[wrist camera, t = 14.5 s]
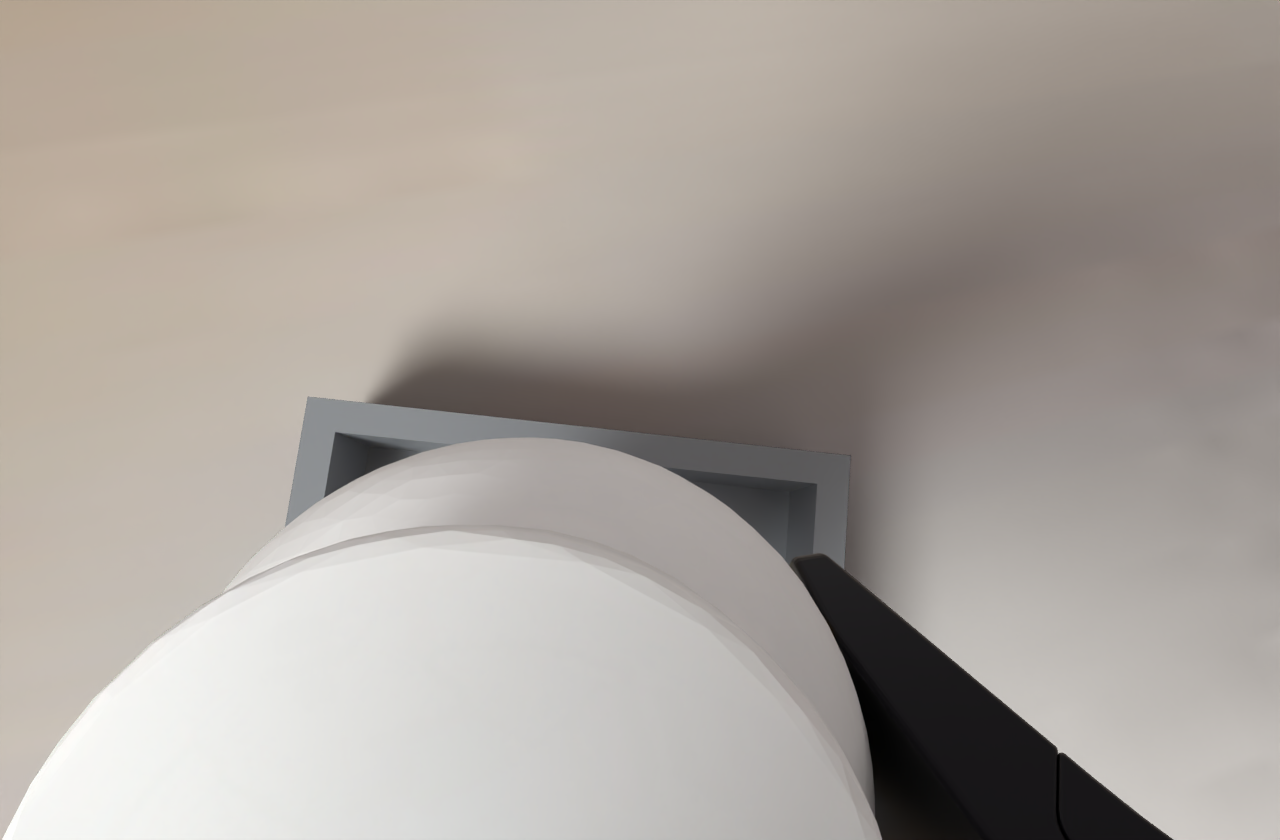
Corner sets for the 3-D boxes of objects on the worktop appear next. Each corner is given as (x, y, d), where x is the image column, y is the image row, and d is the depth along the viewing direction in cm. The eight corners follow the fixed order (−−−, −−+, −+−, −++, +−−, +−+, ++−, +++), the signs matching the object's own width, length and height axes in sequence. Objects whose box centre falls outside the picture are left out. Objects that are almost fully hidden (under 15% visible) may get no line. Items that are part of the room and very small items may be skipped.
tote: (763, 1229, 20) (796, 1370, 17) (225, 1189, 20) (145, 1325, 16) (813, 468, 23) (850, 455, 20) (351, 419, 23) (307, 396, 20)
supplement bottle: (339, 733, 16) (-675, 1402, 3) (502, 445, 17) (212, 127, 4) (632, 895, 16) (747, 2307, 3) (778, 593, 17) (1303, 700, 4)
